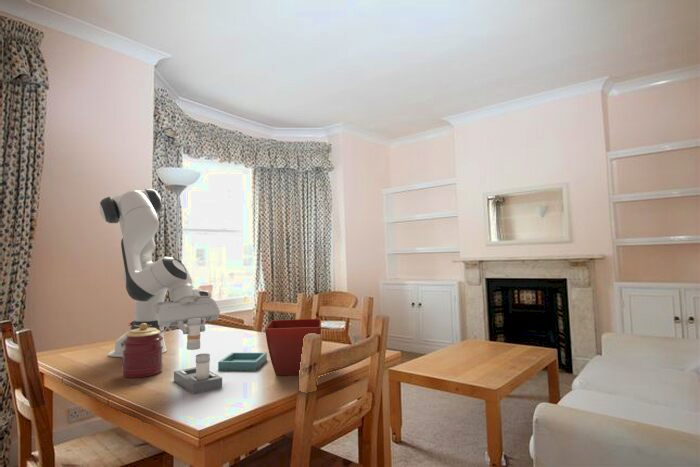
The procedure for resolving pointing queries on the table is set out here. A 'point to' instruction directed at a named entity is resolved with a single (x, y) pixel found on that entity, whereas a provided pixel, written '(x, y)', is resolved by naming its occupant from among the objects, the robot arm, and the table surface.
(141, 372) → the canister
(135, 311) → the robot arm
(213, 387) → the fuse block
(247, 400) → the table surface
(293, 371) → the plant pot
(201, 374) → the fuse
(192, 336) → the grey capped cylinder
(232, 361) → the tray
